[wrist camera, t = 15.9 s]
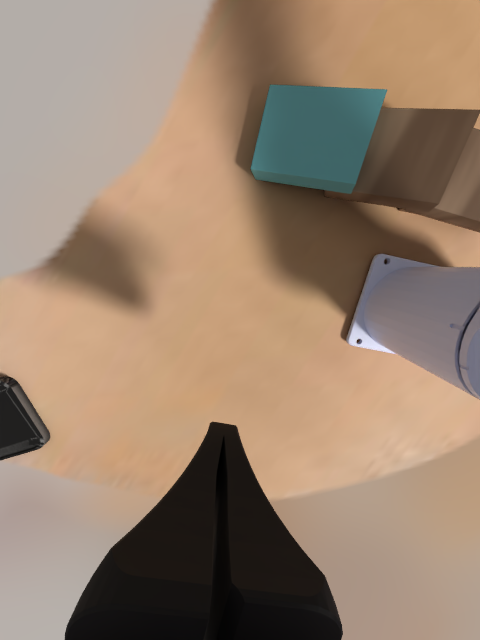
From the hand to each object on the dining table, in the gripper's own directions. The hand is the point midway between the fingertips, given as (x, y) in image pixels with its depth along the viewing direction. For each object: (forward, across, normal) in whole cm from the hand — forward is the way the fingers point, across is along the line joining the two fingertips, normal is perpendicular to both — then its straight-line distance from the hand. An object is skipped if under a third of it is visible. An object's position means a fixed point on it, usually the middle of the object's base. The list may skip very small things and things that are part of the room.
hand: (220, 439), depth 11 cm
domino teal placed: (+9, +1, -18) cm, 20 cm away
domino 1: (+9, -5, -18) cm, 20 cm away
